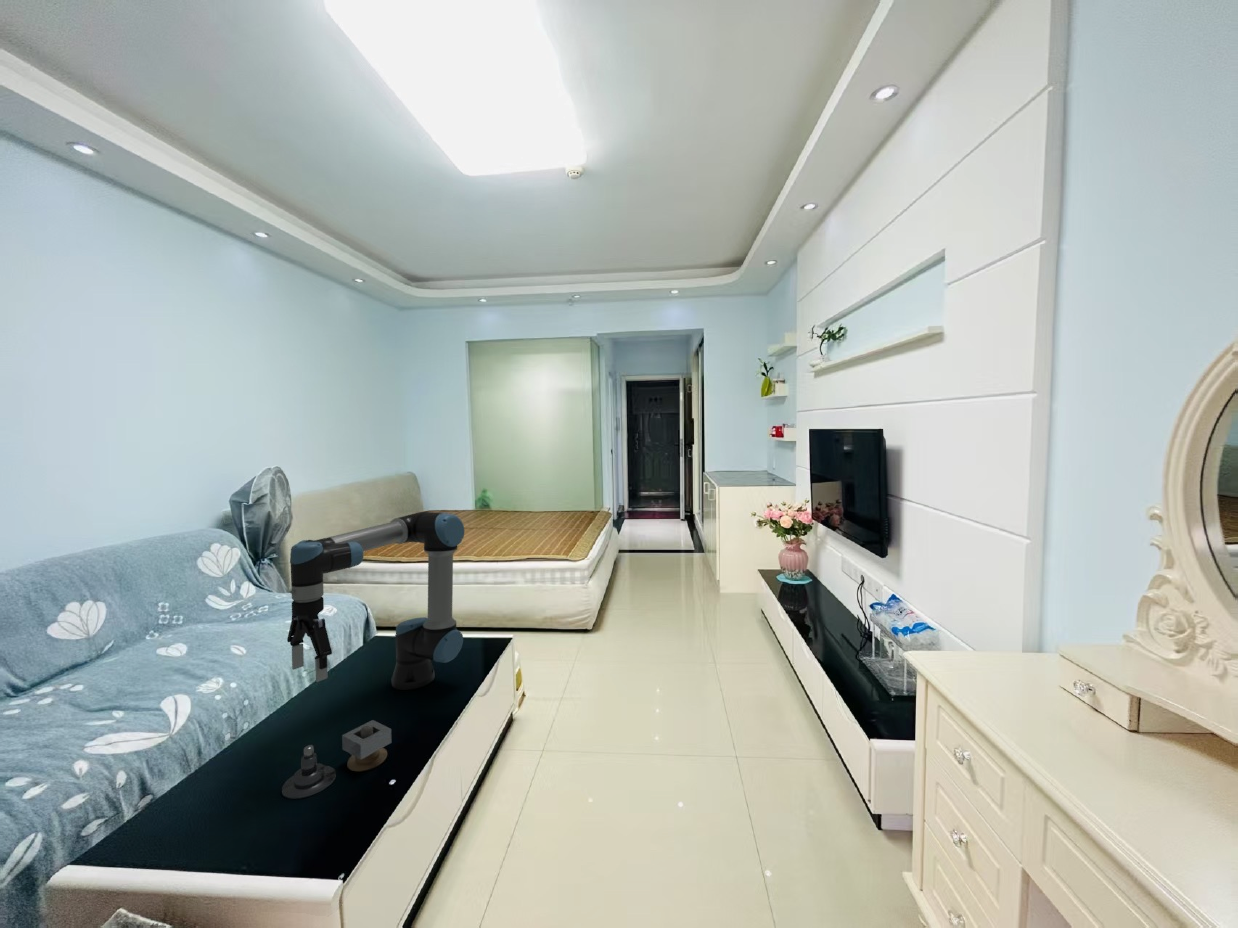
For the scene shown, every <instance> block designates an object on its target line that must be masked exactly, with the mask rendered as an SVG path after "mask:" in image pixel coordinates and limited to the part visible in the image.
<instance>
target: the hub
mask: <svg viewBox="0 0 1238 928" xmlns="http://www.w3.org/2000/svg"><path fill="white" fill-rule="evenodd" d="M336 773H337V771H336V769H335V768H334V767H332V766H329V765H324V764H323V763H320V762H319V763H318V755H317V752H315V749H314V745H313V744H309V745H306V746H304V748H303V755H302V756H301V758H300V768H299V769H298V770H297V771H296V772H295V773H294V774H293V775H292V776H291V777H290V778H288V779H287V780H286V781H284V784H283V785H282V787H281V794H282V796H283V797H284V798H286V799H289V800H300V799H304V798H305V799H306V798H309V797H312V796H314V795H315V796H316V795H317V794H318V793H320V792H323V791H324V790H325V789H327V788H328V787H329V786H330V785H331V784H333V782H334V781H335V779H336V776H337V774H336Z"/></svg>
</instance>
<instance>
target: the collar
mask: <svg viewBox="0 0 1238 928" xmlns="http://www.w3.org/2000/svg"><path fill="white" fill-rule="evenodd" d="M365 726H373V735H371V736H369V737H367V738H365V739H362V738H361V729H362V728H363V727H365ZM341 740H342V741H341V742H342V746H341V747H342V750H343V751H345V752H347V753H348V754H350V755H351V756H352V755H353V756H355V757H357V758H359V759H360V760H361V759H363V758H365V757H367V756H369V755H370V754H372V753H374V752H376V751H377V750H379V749H381V748H384V747H386V746H388V745H390V744H392V728H390V727H388V726H386V725H385V724H382V723H380V722H378V721H376V720H374V719H372V720H370V721H368V722H365V723H364V724H362V725H360V726H358V727H355V728H354V729H352V730H349V731H348V732H346V733H344V734H342V735H341Z"/></svg>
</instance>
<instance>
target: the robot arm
mask: <svg viewBox="0 0 1238 928" xmlns="http://www.w3.org/2000/svg"><path fill="white" fill-rule="evenodd" d="M464 526H465V525H464V523H463V521H462V519H460V517H459V516H458V515H456V514H453V513H448V512H429V511H420V512H416V513H412V514H408V515H404V516H399V517H395V518H393V519H391V521H390V522H387V523H383V524H378V525H375V526H370V527H366V528H361V529H358V530H353V531H349V532H345V533H341V534H336V535H333V536H328V537H323V538H319V539H316V540H315V539H303V540H301V541H299V542H297V543H296V544H293V545H292V547H291V548H290V555H289V558H290V560H289V564H290V582H291V586H290V588H291V589H290V590H289V594H291V600H292V602H291V620H290V621H291V623H290V626H289V630H288V634H287V639H286V640H287V643H289V644H290V646H291V668H292V670H297V669H300V668H302V667H303V668H304V665H305V663H304V660H305V658H304V644H303V643H304V637H305V635H306V636H307V637H309V638H310V639H309V640H310V641H311V643H312V646H313V649H314V651H315V654H316V656H315V657H314V661H315V662H314V663H315V682H316V683H318V682H321V681H323V680H326V679H328V678H329V677H328V673H329V672H328V656H330V655H332V654H333V650H332V647H331V643H330V638H329V635H328V630H327V627H326V619H325V618H324V617H323V618H321V619H319V614H320V613H322V612H323V610H324V608H325V607H324V606H325V604H324V603H325V602H324V600H325V599H324V597H323V596H324V574H329V573H332V572H337V571H341V570H346V569H351V568H353V567H357V566H359V565H360V564H361V563H362V562H363V560H364V556H365V555H364V552H366V551H367V552H368V551H371V550H373V549H378V548H382V547H386V546H388V545H391V544H396V545H397V544H398V545H401V544H405V543H421V544H423V551H424V553H425V554H427V555H428V556H427V557H428V559H427V560H428V561H427V565H428V566H427V569H428V570H427V573H428V574H427V617H414V618H410V619H409V618H408V619H405V620H404V621H401V622H400V623H398V624H397V625H396V627H395V634H394V636H395V660H396V661H395V662H396V664H395V666H394V669H393V674H392V676H391V687H393V688H394V689H396V690H401V691H402V690H403V691H409V690H415V689H419V688H423V687H424V686H427V685H429V684H430V683H432V682H433V681H434V680H435V669H434V666H433V664H432V661H434V663H435V662H436V663H445V664H446V663H449V662H451V661H452V660H454V659H455V658H456V657H457V656H458V654H459V653H460V651H461V649H462V647H463V644H464V636H463V633H462V632H461V631H460V630H458V629H457V620H456V619H455V618H454V617H453V585H454V584H453V582H454V581H453V579H454V578H453V577H454V554H455V552H456V551H457V550H458V546H459V545H460V544H461V543H462V541H463V539H464V537H465V527H464Z"/></svg>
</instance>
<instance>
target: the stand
mask: <svg viewBox="0 0 1238 928" xmlns="http://www.w3.org/2000/svg"><path fill="white" fill-rule="evenodd" d="M371 735H373V726H365V727H363V728H362V729H361V738H362V739H365V738H367V737H369V736H371ZM387 757H388V751H387V749H386V748H384V747H383V748H381V749H379V750H377V751H376V752H374V753H372V754H370V755H369V756H367V757H365V758H363V759H361V760H360V759H359V758H357V757H355V756H353V755H352V754H351V756H350V757H348V760H347V763H346V765H347V769H348V770H350V771H353V772H365V771H369V770H372V769H374V768H376V767H378V766H380V765H382V763H383V762H385V761H386V759H387Z"/></svg>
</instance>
